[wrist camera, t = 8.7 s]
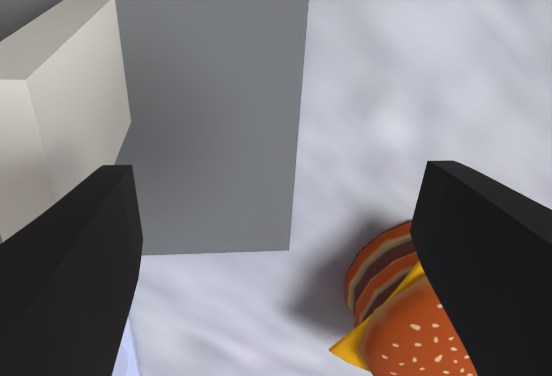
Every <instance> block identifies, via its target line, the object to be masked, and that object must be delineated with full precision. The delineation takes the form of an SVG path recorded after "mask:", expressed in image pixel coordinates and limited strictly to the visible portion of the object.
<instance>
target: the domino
mask: <svg viewBox="0 0 552 376" xmlns="http://www.w3.org/2000/svg"><path fill="white" fill-rule="evenodd" d="M130 123H131V117H130V110H129V102H128V95H127V87H126V79H125V72H124V64H123V57H122V49H121V42H120V34H119V27H118V19H117V12H116V4H115V0H63V1H61V2H60V3H58V4H57V5H55V6H54V7H52V8H51V9H49V10H48V11H46V12H45V13H43V14H42V15H40V16H39V17H37V18H36V19H34V20H33V21H31V22H30V23H28V24H27V25H25V26H24V27H22V28H21V29H19V30H18V31H16V32H15V33H13V34H12V35H10V36H9V37H7V38H6V39H4V40H3V41H1V42H0V235H1V238H2V241H3V242H4V241H5V240H7V239H8V238H10V237H11V236H12V235H14V234H15V233H16V232H18V231H19V230H21V229H22V228H23V227H25V226H26V225H27V224H29V223H30V222H32V221H33V220H34V219H36V218H37V217H38V216H40V215H41V214H42V213H44V212H45V211H46V210H47V209H49V208H50V207H51V206H52V205H54V204H55V203H56V202H57V201H59V200H60V199H61V198H62V197H64V196H65V195H66V194H67V193H69V192H70V191H71V190H72V189H73V188H75V187H76V186H77V185H78V184H79V183H81V182H82V181H83V180H84V179H85V178H87V177H88V176H89V175H90V174H92V173H93V172H94V171H95V170H97V169H98V168H99V167H101V166H102V165H114V164H115V161H116V158H117V156H118V153H119V151H120V148H121V146H122V143H123V141H124V138H125V136H126V133H127V131H128V128H129V126H130Z"/></svg>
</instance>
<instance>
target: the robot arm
mask: <svg viewBox="0 0 552 376" xmlns="http://www.w3.org/2000/svg"><path fill="white" fill-rule="evenodd" d="M409 232H410V235H411V238H412V241H413V244H414V247H415V250H416V253H417V256H418V258H419V261H420V264H421V266H422V269H423V271H424V272H425V274H426V276H427V278H428V280H429V282H430V284H431V286H432V288H433V290H434V292H435V294H436V295H437V297H438V299H439V301H440V303H441V305H442V307H443V308H444V310H445V312H446V314H447V316H448V318H449V320H450V321H451V323H452V325H453V327H454V329H455V331H456V333H457V334H458V336H459V338H460V340H461V342H462V344H463V346H464V347H465V349H466V351H467V353H468V355H469V358H470V360H471V362H472V364H473V366H474V368H475V370H476V372H477V375H478V376H552V210H551V209H549V208H547V207H545V206H543V205H541V204H539V203H537V202H535V201H533V200H531V199H529V198H528V197H526V196H524V195H522V194H520V193H518V192H516V191H514V190H512V189H510V188H509V187H507V186H505V185H503V184H501V183H499V182H497V181H495V180H493V179H492V178H490V177H488V176H486V175H484V174H482V173H480V172H478V171H476V170H474V169H472V168H470V167H468V166H465V165H463V164H461V163H458V162H455V161H428V162H427V165H426V169H425V173H424V177H423V181H422V185H421V188H420V192H419V196H418V200H417V204H416V208H415V211H414V215H413V219H412V223H411V227H410V231H409ZM142 246H143V234H142V227H141V221H140V214H139V207H138V201H137V194H136V187H135V180H134V174H133V167H132V165H102V166H101V167H99V168H98V169H97V170H95V171H94V172H93V173H92V174H90V175H89V176H88V177H87V178H85V179H84V180H83V181H82V182H81V183H79V184H78V185H77V186H76V187H75V188H73V189H72V190H71V191H70V192H69V193H67V194H66V195H65V196H64V197H62V198H61V199H60V200H59V201H57V202H56V203H55V204H54V205H52V206H51V207H50V208H49V209H47V210H46V211H45V212H44V213H42V214H41V215H40V216H38V217H37V218H36V219H34V220H33V221H32V222H30V223H29V224H27V225H26V226H25V227H23V228H22V229H21V230H19V231H18V232H16V233H15V234H14V235H12V236H11V237H10V238H8V239H7V240H5V241H4V242H3V243H1V244H0V376H140V371H139V366H138V361H137V355H136V350H135V345H134V340H133V335H132V329H131V324H130V319H129V311H130V308H131V304H132V300H133V297H134V293H135V289H136V285H137V281H138V276H139V269H140V262H141V254H142Z"/></svg>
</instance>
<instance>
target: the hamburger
mask: <svg viewBox="0 0 552 376" xmlns="http://www.w3.org/2000/svg"><path fill="white" fill-rule="evenodd" d="M411 223H412V221H410V222H408V223H405V224H403V225H401V226H398V227H396V228H394V229H391V230H389V231H386V232H384V233H382V234H381V235H379V236H378V237H377V238H376V239H374V240H373V241H372V242H371V243H370V244H368V245H367V246H366V247H365V248H364V249H362V250H361V251H360V252H359V254H358V256H357V257H356V259H355V261H354V263H353V264H352V266H351V268H350V269H349V271H348V273H347V275H346V290H345V300H346V303H347V306H348V307H349V309H350V311H351V313H352V314H353V316H354V318H355V324H354V329H353V330H352V331H351V332H350V333H348V334H347V335H346V336H345V337H343V338H342V339H341V340H340V341H338V342H337V343H336V344H335V345H333V346H332V347H331V348H329V351H330V352H332V353H333V354H335V355H336V356H338V357H340V358H341V359H343V360H344V361H346V362H347V363H349V364H352V365H355V366H357V367H360V368H362V369H365V370H367V371H370V372H371V373H372V375H373V376H478V375H477V372H476V370H475V368H474V366H473V364H472V362H471V360H470V358H469V355H468V353H467V351H466V349H465V347H464V346H463V344H462V342H461V340H460V338H459V336H458V334H457V333H456V331H455V329H454V327H453V325H452V323H451V321H450V320H449V318H448V316H447V314H446V312H445V310H444V308H443V307H442V305H441V303H440V301H439V299H438V297H437V295H436V294H435V292H434V290H433V288H432V286H431V284H430V282H429V280H428V278H427V276H426V274H425V272H424V271H423V269H422V266H421V264H420V261H419V258H418V256H417V253H416V250H415V247H414V244H413V241H412V238H411V235H410V232H409V231H410V227H411Z"/></svg>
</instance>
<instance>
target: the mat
mask: <svg viewBox="0 0 552 376" xmlns="http://www.w3.org/2000/svg"><path fill="white" fill-rule="evenodd" d="M61 1H63V0H0V42H1V41H3V40H4V39H6V38H7V37H9V36H10V35H12V34H13V33H15V32H16V31H18V30H19V29H21V28H22V27H24V26H25V25H27V24H28V23H30V22H31V21H33V20H34V19H36V18H37V17H39V16H40V15H42V14H43V13H45V12H46V11H48V10H49V9H51V8H52V7H54V6H55V5H57V4H58V3H60V2H61ZM308 2H309V0H115V4H116V12H117V19H118V27H119V34H120V42H121V49H122V57H123V64H124V72H125V79H126V87H127V95H128V102H129V110H130V117H131V123H130V126H129V128H128V131H127V133H126V136H125V138H124V141H123V143H122V146H121V148H120V151H119V153H118V156H117V158H116V161H115V164H114V165H132V167H133V174H134V180H135V187H136V194H137V201H138V207H139V214H140V221H141V227H142V234H143V246H142V254H141V255H168V254H197V253H226V252H255V251H285V250H289V243H290V230H291V217H292V205H293V192H294V179H295V167H296V154H297V141H298V129H299V116H300V103H301V91H302V78H303V65H304V53H305V40H306V27H307V14H308ZM1 243H3V241H2V238H1V235H0V244H1Z"/></svg>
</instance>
